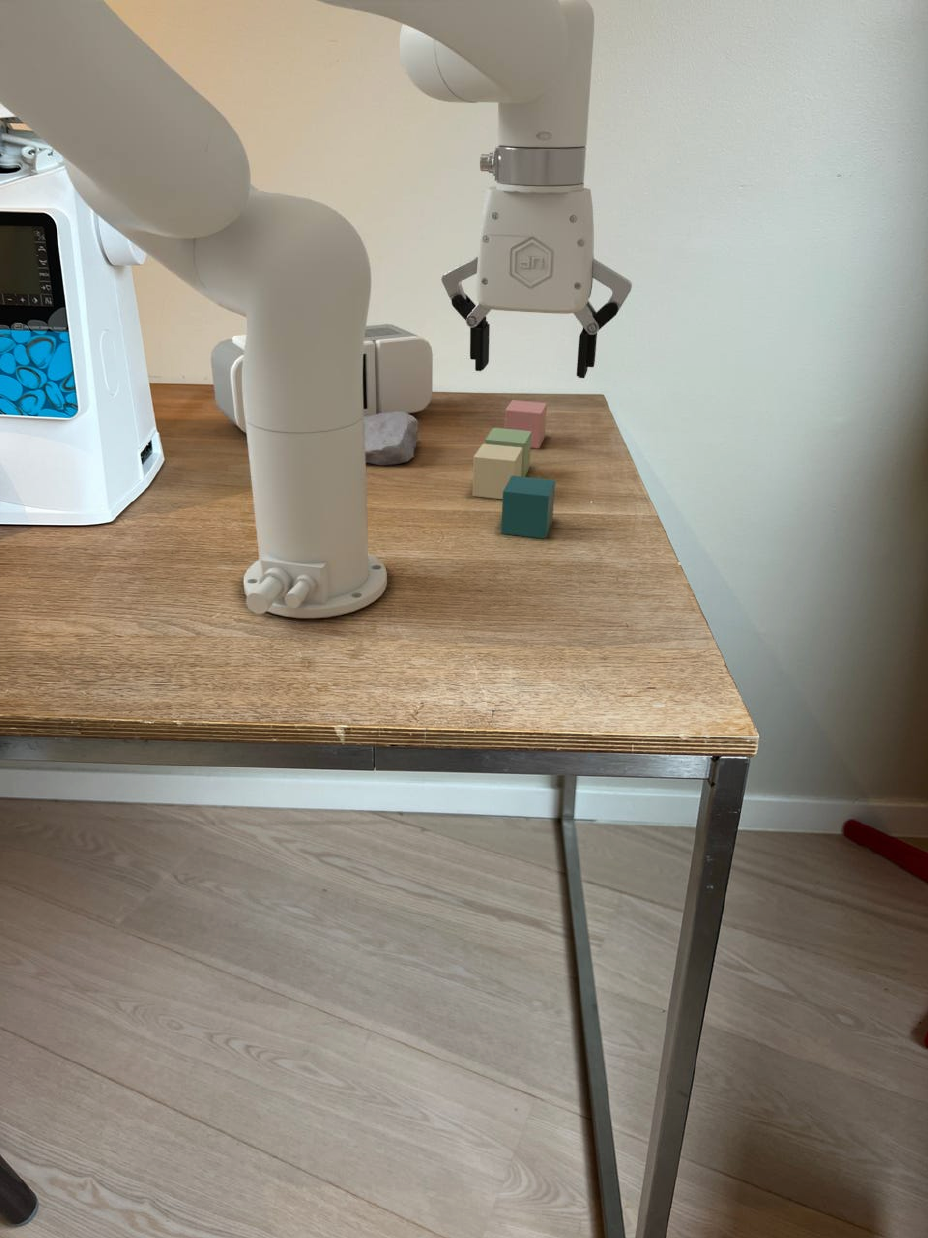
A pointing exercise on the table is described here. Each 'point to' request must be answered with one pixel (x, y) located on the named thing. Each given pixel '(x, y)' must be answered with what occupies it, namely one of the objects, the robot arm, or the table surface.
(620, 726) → the table surface
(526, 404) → the rose block
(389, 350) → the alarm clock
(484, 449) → the cream block
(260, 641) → the table surface
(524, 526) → the teal block
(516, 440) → the sage block
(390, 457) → the stone block
